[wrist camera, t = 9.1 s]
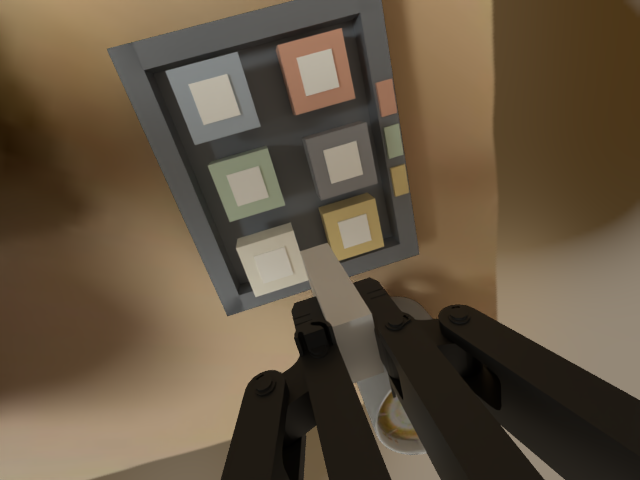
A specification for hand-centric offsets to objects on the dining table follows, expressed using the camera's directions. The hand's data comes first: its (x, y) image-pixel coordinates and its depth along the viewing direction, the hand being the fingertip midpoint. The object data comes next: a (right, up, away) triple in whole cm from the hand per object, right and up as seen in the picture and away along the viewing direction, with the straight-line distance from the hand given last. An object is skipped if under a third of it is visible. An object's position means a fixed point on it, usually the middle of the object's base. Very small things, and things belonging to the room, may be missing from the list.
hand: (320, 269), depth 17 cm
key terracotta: (0, +14, +7) cm, 15 cm away
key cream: (-4, 0, +10) cm, 10 cm away
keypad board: (-3, +8, +10) cm, 13 cm away
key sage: (-6, +6, +9) cm, 12 cm away
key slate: (-7, +11, +5) cm, 14 cm away
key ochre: (+2, +3, +12) cm, 12 cm away
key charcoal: (+1, +8, +8) cm, 11 cm away
